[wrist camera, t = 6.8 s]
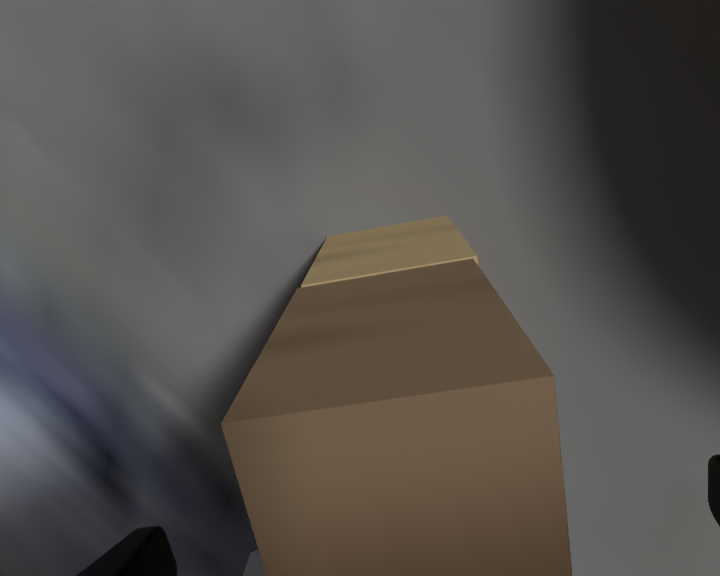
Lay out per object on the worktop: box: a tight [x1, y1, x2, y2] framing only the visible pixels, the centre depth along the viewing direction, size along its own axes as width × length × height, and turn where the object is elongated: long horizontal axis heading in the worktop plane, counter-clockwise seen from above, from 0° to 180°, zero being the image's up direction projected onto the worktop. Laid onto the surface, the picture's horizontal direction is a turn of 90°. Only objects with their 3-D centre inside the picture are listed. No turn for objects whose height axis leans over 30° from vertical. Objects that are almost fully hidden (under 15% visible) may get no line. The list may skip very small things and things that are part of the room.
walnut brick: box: [221, 258, 572, 576], centre depth 9 cm, size 7×4×5 cm, turn 11°
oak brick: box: [301, 216, 478, 287], centre depth 13 cm, size 7×4×5 cm, turn 11°
